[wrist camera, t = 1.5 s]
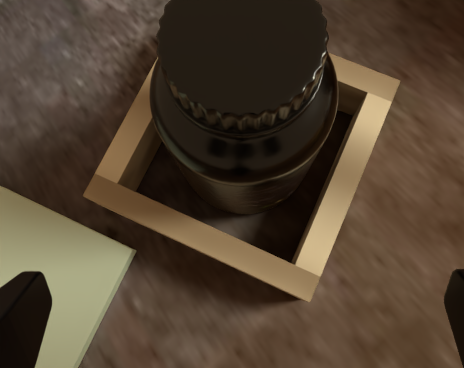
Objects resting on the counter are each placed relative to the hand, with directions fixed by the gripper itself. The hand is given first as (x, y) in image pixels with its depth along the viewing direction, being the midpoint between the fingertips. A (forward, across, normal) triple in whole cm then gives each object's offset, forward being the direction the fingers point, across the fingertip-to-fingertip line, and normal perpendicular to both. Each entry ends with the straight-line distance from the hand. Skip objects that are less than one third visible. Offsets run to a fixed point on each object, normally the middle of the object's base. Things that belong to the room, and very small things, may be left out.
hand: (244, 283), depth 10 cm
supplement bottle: (+14, 0, +4) cm, 15 cm away
